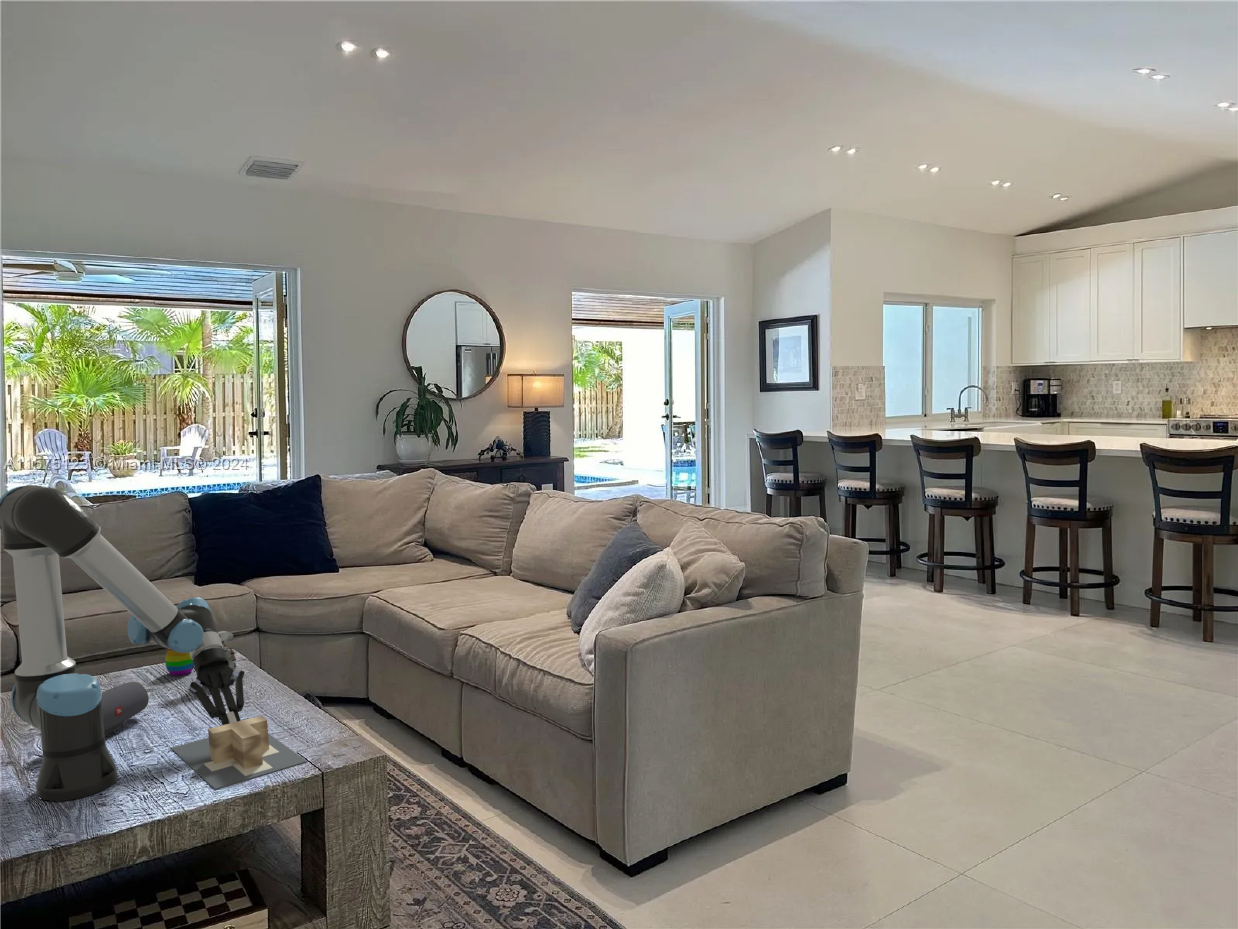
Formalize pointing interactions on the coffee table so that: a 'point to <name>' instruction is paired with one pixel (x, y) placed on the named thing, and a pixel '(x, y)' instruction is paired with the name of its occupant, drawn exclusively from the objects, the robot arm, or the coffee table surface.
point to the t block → (240, 742)
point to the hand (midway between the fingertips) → (237, 739)
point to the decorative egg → (178, 663)
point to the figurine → (228, 651)
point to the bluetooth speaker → (122, 704)
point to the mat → (235, 762)
